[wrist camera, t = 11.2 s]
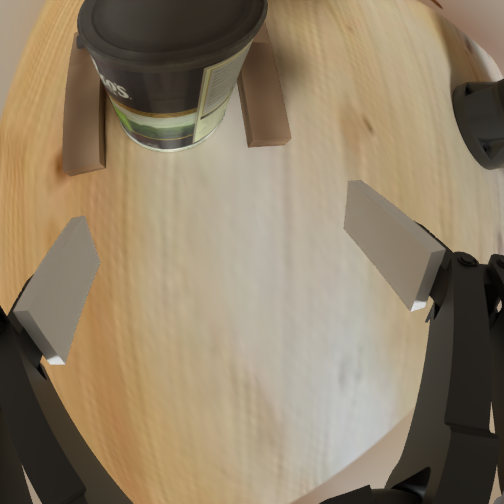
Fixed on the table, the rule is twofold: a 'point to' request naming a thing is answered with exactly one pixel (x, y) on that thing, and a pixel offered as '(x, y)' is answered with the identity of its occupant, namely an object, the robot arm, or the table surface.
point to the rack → (92, 105)
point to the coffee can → (169, 62)
